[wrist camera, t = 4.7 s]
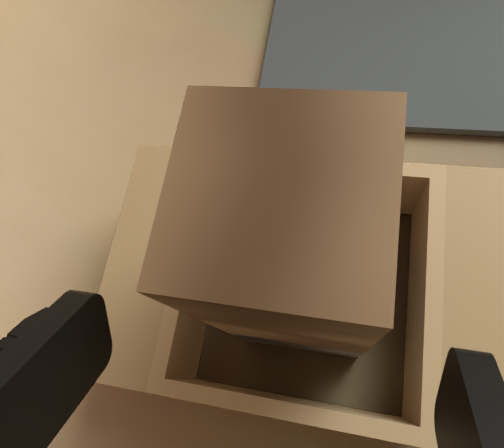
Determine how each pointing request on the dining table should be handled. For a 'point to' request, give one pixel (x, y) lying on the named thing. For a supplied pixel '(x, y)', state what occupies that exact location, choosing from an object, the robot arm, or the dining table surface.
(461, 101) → the rubber mat
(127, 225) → the light wood hollow frame
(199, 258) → the walnut box
